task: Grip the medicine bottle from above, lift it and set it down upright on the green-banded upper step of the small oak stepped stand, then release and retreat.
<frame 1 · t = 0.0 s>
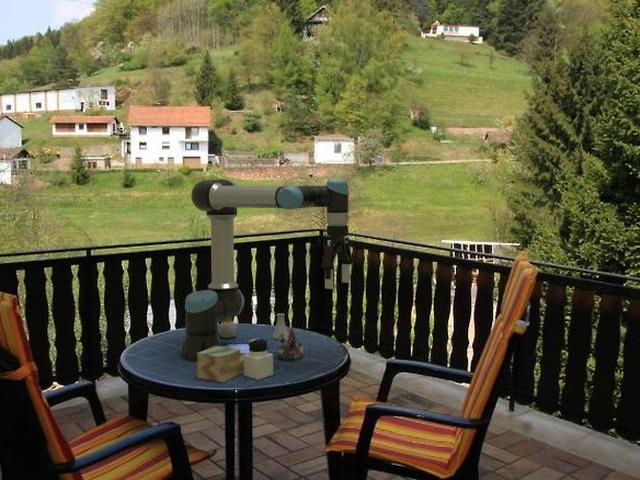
hand: (337, 285, 224), 28 cm above the table, tool pointing down, fingers open, 13 cm apart
red grey figurine: (290, 357, 235), on the table
medicine bottle: (258, 375, 213), on the table
perfume bottle: (225, 337, 264), on the table
stepped stand: (228, 371, 217), on the table
flask: (280, 338, 262), on the table
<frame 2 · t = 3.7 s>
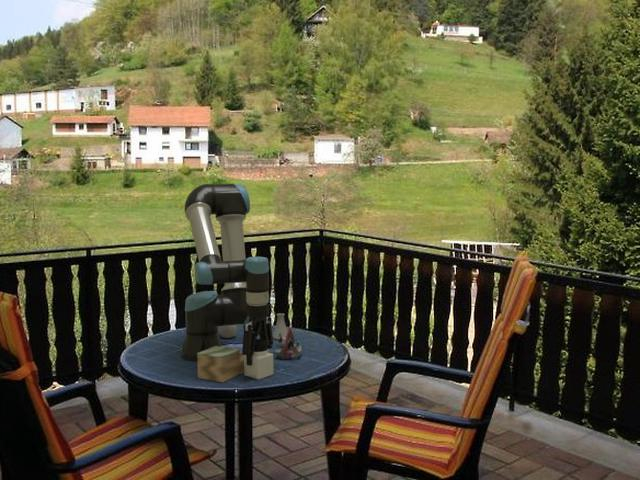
hand: (258, 370, 214), 1 cm above the table, tool pointing down, fingers closed on medicine bottle, 8 cm apart
medicine bottle: (258, 375, 214), on the table, touching gripper
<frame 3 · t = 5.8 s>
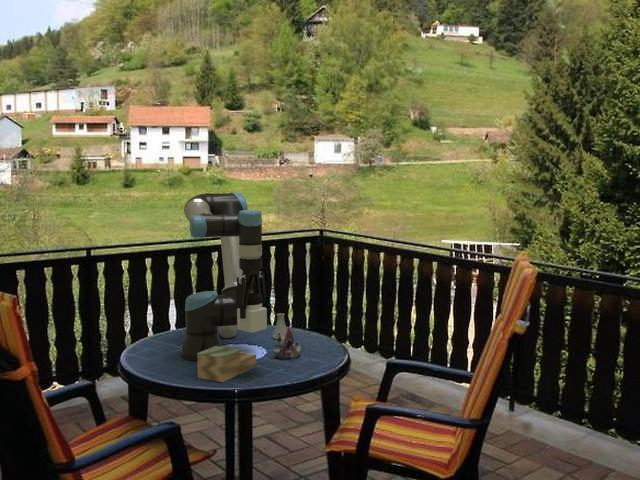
hand: (251, 324, 213), 17 cm above the table, tool pointing down, fingers closed on medicine bottle, 8 cm apart
medicine bottle: (252, 329, 213), point 15 cm above the table, touching gripper
when the fingers open (11 cm above the table, at t = 7.9 s): medicine bottle drops 1 cm, resting on stepped stand.
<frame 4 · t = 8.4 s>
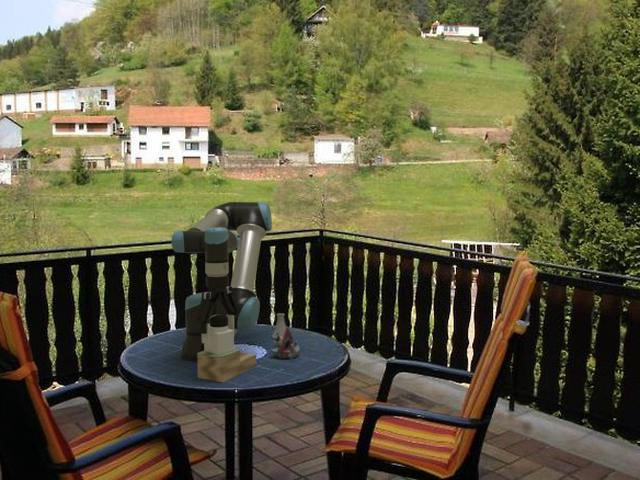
hand: (218, 338, 212), 13 cm above the table, tool pointing down, fingers open, 13 cm apart
medicine bottle: (219, 351, 212), point 8 cm above the table, touching stepped stand
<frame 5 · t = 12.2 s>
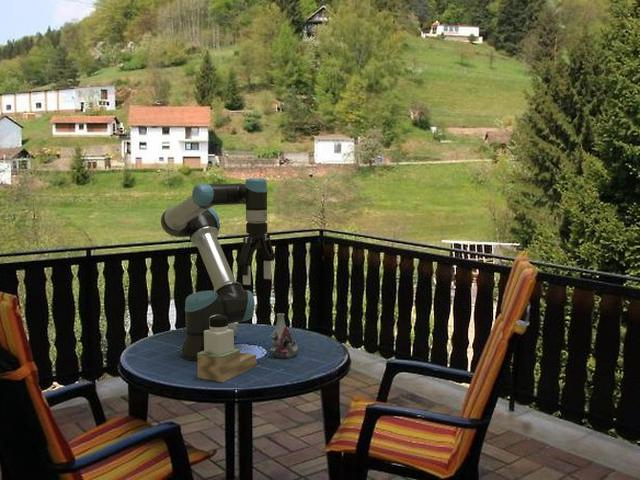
hand: (257, 281, 228), 29 cm above the table, tool pointing down, fingers open, 13 cm apart
at the end: medicine bottle inside the target area on the stepped stand (0.2 cm from its centre), point 8.2 cm above the stepped stand's base; medicine bottle tilted 0°; the gripper is holding nothing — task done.
